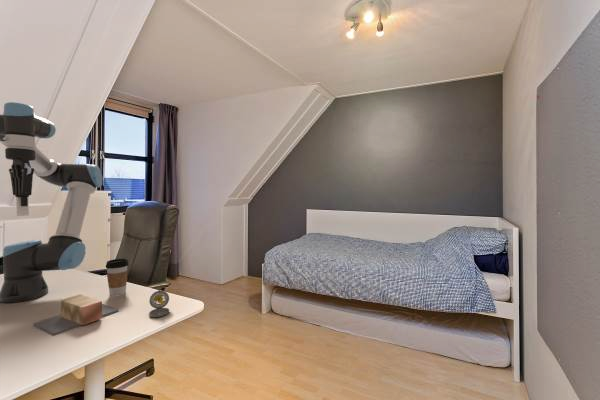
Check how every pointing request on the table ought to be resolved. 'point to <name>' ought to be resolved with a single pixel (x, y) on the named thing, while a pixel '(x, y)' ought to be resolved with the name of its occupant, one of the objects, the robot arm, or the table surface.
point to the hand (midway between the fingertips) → (22, 215)
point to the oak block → (81, 309)
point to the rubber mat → (66, 322)
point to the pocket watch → (159, 307)
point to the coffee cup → (117, 276)
